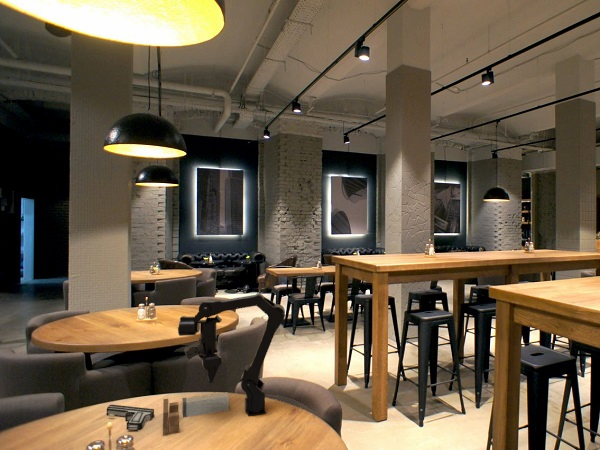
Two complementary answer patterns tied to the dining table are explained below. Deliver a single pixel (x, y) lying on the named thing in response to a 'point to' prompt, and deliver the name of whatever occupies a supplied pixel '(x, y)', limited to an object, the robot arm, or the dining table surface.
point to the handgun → (131, 415)
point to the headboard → (170, 417)
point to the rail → (205, 404)
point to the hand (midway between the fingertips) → (209, 378)
